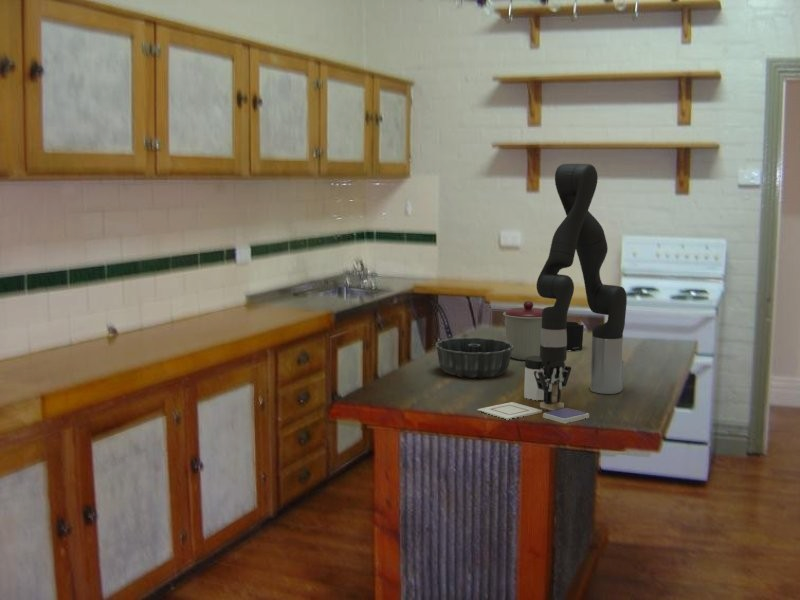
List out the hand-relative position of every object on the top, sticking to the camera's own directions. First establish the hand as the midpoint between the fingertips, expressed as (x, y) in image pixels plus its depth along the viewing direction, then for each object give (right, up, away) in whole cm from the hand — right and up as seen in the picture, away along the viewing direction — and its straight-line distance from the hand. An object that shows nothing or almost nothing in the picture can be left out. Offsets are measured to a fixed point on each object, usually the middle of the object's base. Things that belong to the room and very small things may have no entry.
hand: (551, 402), depth 268 cm
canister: (+3, +8, +73) cm, 74 cm away
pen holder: (+22, +10, +91) cm, 94 cm away
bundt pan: (-19, +4, +48) cm, 51 cm away
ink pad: (+2, -3, -9) cm, 10 cm away
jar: (-2, 0, +14) cm, 14 cm away
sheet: (-13, -2, -3) cm, 13 cm away
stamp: (0, -2, 0) cm, 2 cm away
